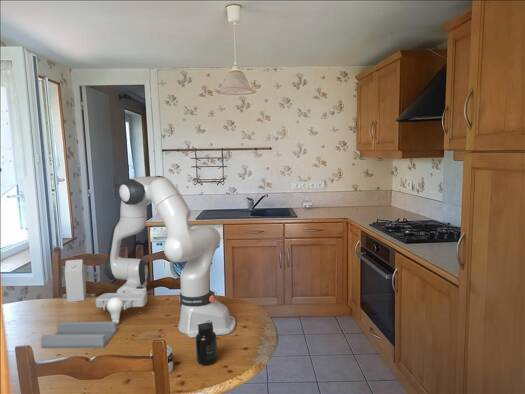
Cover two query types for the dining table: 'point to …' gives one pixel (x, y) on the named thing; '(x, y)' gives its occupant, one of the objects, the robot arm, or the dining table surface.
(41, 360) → the dining table surface
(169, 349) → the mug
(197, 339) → the supplement bottle
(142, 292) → the robot arm
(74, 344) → the trough
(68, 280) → the milk carton
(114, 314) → the lightbulb
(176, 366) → the dining table surface
